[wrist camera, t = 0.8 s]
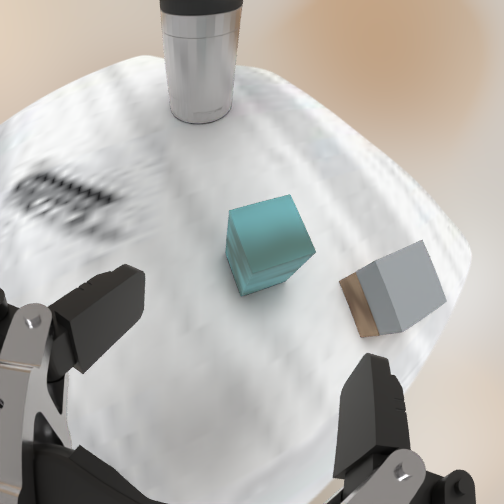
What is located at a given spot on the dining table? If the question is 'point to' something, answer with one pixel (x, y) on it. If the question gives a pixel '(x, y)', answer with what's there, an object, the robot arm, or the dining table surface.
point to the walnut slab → (359, 306)
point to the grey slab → (401, 288)
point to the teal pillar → (266, 243)
